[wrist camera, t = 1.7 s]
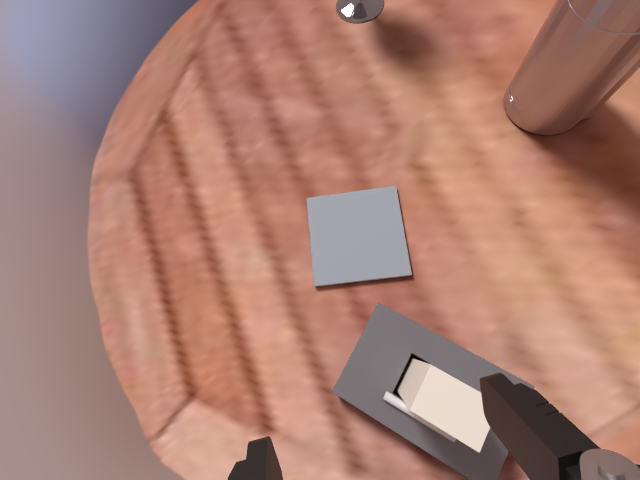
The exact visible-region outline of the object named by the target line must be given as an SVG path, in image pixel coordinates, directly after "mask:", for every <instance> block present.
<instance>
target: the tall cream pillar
mask: <svg viewBox="0 0 640 480" xmlns="http://www.w3.org/2000/svg"><path fill="white" fill-rule="evenodd" d="M396 390H397V391H398V393H399V394H400V396H401V398H402V399H403V401H404V402H405V404H406V405H407V407H408V408H409V410H410V411H412V412H413V413H415V414H417V415H418V416H420V417H422V418H423V419H425V420H426V421H428V422H430V423H431V424H433V425H435V426H436V427H438V428H440V429H441V430H443V431H445V432H446V433H448V434H449V435H451V436H453V437H454V438H456V439H458V440H459V441H461V442H463V443H464V444H466V445H467V446H469V447H471V448H472V449H474V450H476V451H477V452H479V453H480V451H481V448H482V446H483V443H484V441H485V438H486V436H487V434H488V431H489V429H490V426H489V424H488V422H487V420H486V418H485V415H484V411H483V403H482V396H481V392H479V391H477V390H476V389H474V388H472V387H470V386H469V385H467V384H465V383H463V382H461V381H460V380H458V379H456V378H454V377H453V376H451V375H449V374H447V373H445V372H444V371H442V370H440V369H438V368H437V367H435V366H433V365H431V364H428V363H425V362H422V361H419V360H416V359H413V358H410V360H409V362H408V364H407V366H406V368H405V370H404V372H403V374H402V377H401V379H400V381H399V383H398V385H397V387H396Z"/></svg>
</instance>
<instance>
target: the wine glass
mask: <svg viewBox="0 0 640 480" xmlns="http://www.w3.org/2000/svg"><path fill="white" fill-rule="evenodd" d="M383 6H384V0H338V1H337V4H336V11H337V13H338V15H339V16H340V17H341V18H342V19H343V20H345V21H347V22H351V23H363V22H367V21H370V20H372V19H374V18H375V17H376V16H378V15H379V14H380V12H381V11H382V9H383Z"/></svg>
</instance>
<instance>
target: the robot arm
mask: <svg viewBox="0 0 640 480" xmlns="http://www.w3.org/2000/svg"><path fill="white" fill-rule="evenodd" d="M639 68H640V0H557V1H556V2H555V4H554V6H553V8H552V10H551V11H550V13H549V15H548V17H547V19H546V20H545V22H544V24H543V26H542V28H541V29H540V31H539V33H538V35H537V37H536V38H535V40H534V42H533V44H532V45H531V47H530V49H529V51H528V53H527V54H526V56H525V58H524V60H523V62H522V63H521V65H520V67H519V69H518V71H517V72H516V74H515V76H514V78H513V80H512V81H511V83H510V85H509V87H508V89H507V91H506V93H505V96H504V107H505V110H506V113H507V115H508V116H509V118H510V119H511V120H512V121H513V122H514V123H515V124H516V125H517V126H518V127H520V128H522V129H524V130H525V131H528V132H531V133H534V134H539V135H555V134H560V133H563V132H566V131H568V130H569V129H571V128H573V127H574V126H575V125H576V124H577V123H578V122H579V121H581V120H583V119H588V118H590V117H591V116H592V115H593V114H594V113H595V112H596V111H597V110H598V109H599V108H600V107H601V106H602V105H603V104H604V103H605V102H606V101H607V100H608V99H609V98H610V97H611V96H612V95H613V94H614V93H615V92H616V91H617V90H618V89H619V88H620V87H621V86H622V85H623V84H624V83H625V82H626V81H627V80H628V79H629V78H630V77H631V76H632V75H633V74H634V73H635V72H636V71H637V70H638V69H639ZM480 388H481V396H482V403H483V411H484V415H485V418H486V420H487V422H488V424H489V426H490V428H491V429H492V431H493V432H494V433H495V435H496V436H497V437H498V439H499V440H500V441H501V442H502V444H503V445H504V446H505V448H506V449H507V450H508V451H509V453H510V454H511V455H512V457H513V458H514V459H515V460H516V462H517V463H518V464H519V466H520V467H521V468H522V469H523V471H524V472H525V473H526V475H527V476H528V477H529V479H530V480H640V465H637V464H634V463H633V462H632V461H631V460H629V459H628V458H626V457H624V456H622V455H620V454H618V453H616V452H613V451H610V450H605V449H600V448H599V447H598V446H597V445H596V444H595V443H594V442H592V441H591V440H590V439H589V438H588V437H587V436H586V435H585V434H584V433H583V432H581V431H580V430H579V429H578V428H577V427H576V426H575V425H574V424H573V423H572V422H570V421H569V420H568V419H567V418H566V417H565V416H564V415H563V414H562V413H559V411H558V410H557V409H556V408H555V407H554V406H553V405H552V404H549V402H548V401H547V400H546V399H545V398H544V397H543V396H542V395H541V394H540V393H538V392H537V391H536V390H534V389H532V388H530V387H528V386H526V385H524V384H522V383H519V384H515V385H514V384H513V383H512V382H511V381H510V380H509V379H508V378H507V377H506V376H505V375H504V374H502V373H496V374H492V375H489V376H485V377H482V378H480ZM228 480H283V477H282V472H281V468H280V465H279V462H278V459H277V456H276V453H275V450H274V447H273V443H272V440H271V438H270V437H269V436H268V437H264V438H261V439H257V440H254V441H250V442H249V443H248V449H247V457H246V460H243V461H239V462H236V464H235V466H234V468H233V469H232V471H231V473H230V475H229V477H228Z"/></svg>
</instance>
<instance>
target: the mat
mask: <svg viewBox="0 0 640 480" xmlns="http://www.w3.org/2000/svg"><path fill="white" fill-rule="evenodd" d="M307 208H308V219H309V231H310V242H311V253H312V265H313V276H314V286H315V287H318V286H327V285H336V284H344V283H353V282H362V281H370V280H379V279H388V278H396V277H405V276H411V275H412V272H411V267H410V261H409V256H408V250H407V244H406V239H405V233H404V227H403V222H402V216H401V211H400V205H399V199H398V194H397V188H396V186H390V187H383V188H376V189H369V190H362V191H355V192H348V193H340V194H333V195H326V196H319V197H312V198H307Z"/></svg>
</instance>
